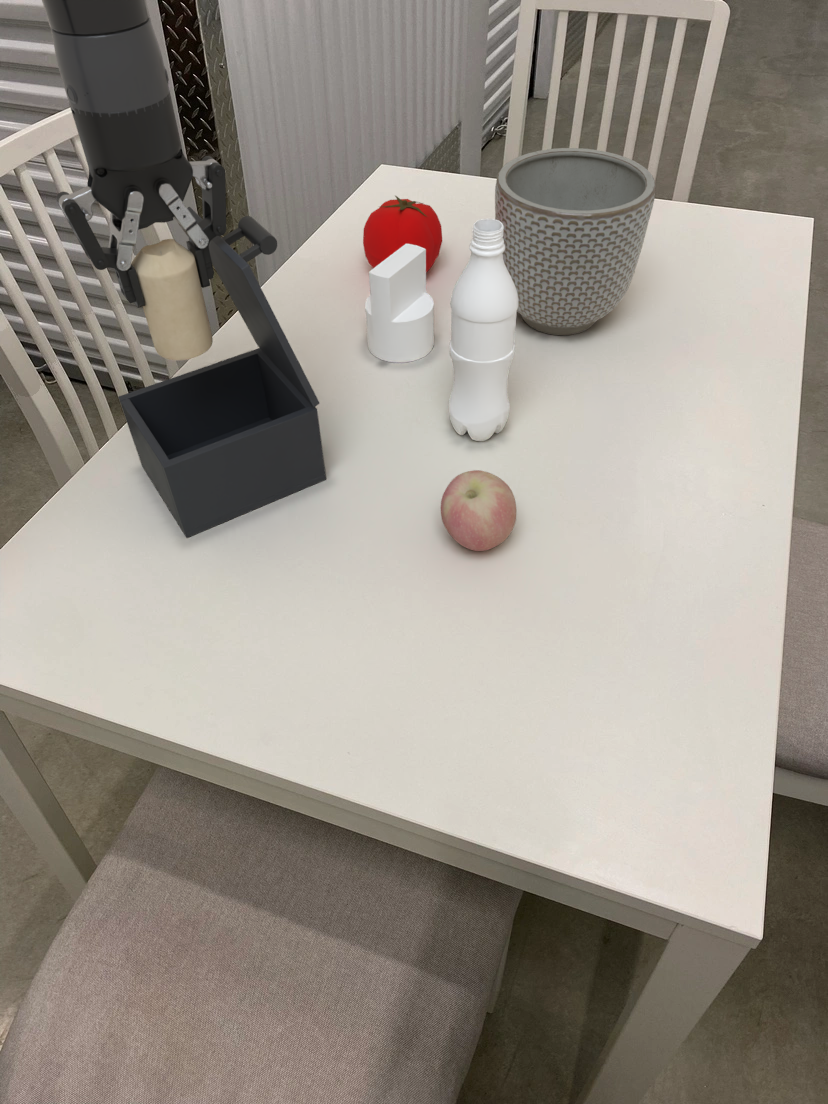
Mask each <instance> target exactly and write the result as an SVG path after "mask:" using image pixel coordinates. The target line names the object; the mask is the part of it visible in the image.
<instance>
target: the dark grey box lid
mask: <svg viewBox="0 0 828 1104" xmlns="http://www.w3.org/2000/svg"><path fill="white" fill-rule="evenodd" d="M187 209H188V210H189V211H190V213H191V214H192V216H193V217H194V218H195V220H196V221H197V223H198V222H200V221H201V220H203V217H201V216H200V215H199V214H198V213H197V212H196V211H195V210H194V209H193V208H192V207H191V206H188V207H187ZM243 237H245V239H247V240H248V241H249V242H250V243H251V244H252V246H251V247H249V248H247V249H246V250H244V251H243V252H241V253H238V252H236V250H234V248H233V247H232V246H231V245H233V244H234V243H236V242H237V241H239V240H240V239H242V238H243ZM277 249H278V240H277V238H276V237H275V236H274V235H272V234H271V232H269V231H268V230H267V229H266V228H265V227H263V225H261V224H260V223H259V222H258V221H257V220H256V219H254V217H252V216H250V215H244V216H242V217H241V218H240V219H239V221H238V223H237V227H236V228H235V229H233V230H232V231H230V232H228V233H227V234H226V235H223V236H216V237H214V238H213V239H212V240H211V241H210V243H209V252H210V256H211V261H212V266H213V269H214V270H215V271H216V273H217V275H218V276H219V278H220V281H221V282H222V284H223V286H224V288H225V290H226V291H227V294H228V295H229V297H230V299H231V301H232V302H233V304H234V306H235V307H236V310H237V311H238V313H239V315H240V317H241V319H242V320H243V322H244V324H245V325H246V327H247V329H248V331H249V333H250V335H251V336H252V338H253V340H254V342H255V344H256V345H257V347H258V348H260V349H261V350H262V351H263V352H264V353H265V354H266V355H267V356H268V358H269V359H270V360H271V361H272V362H273V363H274V364H275V365H276V366H277V367H278V369H279V370H280V371H281V372H282V373H283V374H284V375H285V376H286V377H287V379H288V380H289V381H290V382H291V383H292V384H293V385H294V386H295V387H296V388H297V390H298V391H299V392H300V393H301V394H302V395H303V396H304V397H305V398H306V399H307V401H308V402H309V403H310V404H311V405H312V406H313V407H316V406H319V404H320V400H319V399H318V397H317V394H316V393H315V391H314V389H313V387H312V385H311V383H310V381H309V379H308V378H307V377H308V376H307V375H306V373H305V372H304V369H303V367H302V365H301V364H300V361H299V360H298V358H297V356H296V353H295V352H294V350H293V348H292V346H291V343H290V342H289V340H288V338H287V336H286V333H285V332H284V330H283V329H282V326H281V325H280V323H279V320H278V318H277V316H276V315H275V313H274V311H273V309H272V306H271V305H270V303H269V300H268V298H267V297H266V295H265V293H264V291H263V289H262V287H261V285H260V284H259V282H258V279H257V278H256V276H255V274H254V271H253V270H252V267H251V266H250V264H249V263H248V262H250V261H251V260H253V259H254V258H256V257H257V256H259V255H260V254H263V255H265V256H269V255H273V254H274V253H275V252H276V251H277Z"/></svg>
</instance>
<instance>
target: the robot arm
mask: <svg viewBox="0 0 828 1104" xmlns="http://www.w3.org/2000/svg"><path fill="white" fill-rule="evenodd" d="M41 3H42V6H43V8H44V13H45V16H46V19H47V22H48V25H49V27H50V33H51V37H52V43H53V47H54V52H55V59H56V64H57V67H58V71H59V74H60V77H61V81H62V84H63V87H64V91H65V94H66V98H67V101H68V104H69V107H70V112H71V114H72V118H73V120H74V124H75V127H76V131H77V134H78V137H79V141H80V144H81V147H82V151H83V154H84V157H85V161H86V164H87V168H88V178H87V182H86V186H85V187H83V188H81V189H78V190H76V191H74V192H71V193H69V192H67V191H60V192H58V194H57V195H56V198H55V199H56V202H57V204H58V206H59V208H60V210H61V212H62V213H63V216H64V217H65V219H66V221H67V223H68V225H69V226H70V228H71V231H72V232H73V234H74V235H75V237H76V240H77V241H78V243H79V244H80V246H81V249H82V251H83V252H84V254H85V255H86V257H87V258H88V259H89V260H90V261H91V263H92V265H93V266H94V268H95V269H96V270H98V271H104V270H106V269H114V272H115V276H116V280H117V283H118V286H119V289H120V293H121V294H122V295H123V297H125V299H126V300H127V302H128V303H129V304H134V306H135V307H136V308H137V309H140V308H143V306H145V301H144V298H143V294H142V291H141V287H140V284H139V280H138V277H137V273H136V270H135V268H134V267H133V265H132V261H133V252H134V248H135V247H134V246H136V245H137V242H138V241H137V240H138V232H139V230H143V229H146V228H149V227H150V226H152V225H154V224H157V223H161V224H162V223H163V224H164V223H168V222H172V221H174V220H175V222H176V223H177V224H178V226H179V227H180V228H181V229H182V231H183V232H184V234H185V235H186V236H187V237H188V240H187V241H185V243H186V247H187V250H189V251H190V252H192V253H193V255H194V257H195V262H196V266H197V270H198V275H199V279H200V284H201V288H202V289H204V288H208V287H211V281H210V280H212V279H214V276H215V271H214V270H215V269H214V266H213V264H212V261H211V256H210V252H209V243H210V241H211V240H212V239H213V238H214V237H216V236H220V237H223V236H225V234H226V232H227V195H226V194H227V191H226V190H227V189H226V187H227V185H226V169H225V168H224V166H223V165H221V164H220V163H219V162H218V161H217V160H215V159H214V158H213V156H211V155H205V156H204V157H202V159H201V160H195V161H194V160H193V161H189V160H188V159H187V157H186V156H185V154H184V152H183V146H182V142H181V137H180V133H179V132H180V131H179V127H178V123H177V118H176V114H175V109H174V105H173V100H172V96H171V90H170V86H169V81H170V80H169V74H168V70H167V68H166V66H165V63H164V59H163V55H162V50H161V47H160V44H159V41H158V39H157V36H156V33H155V30H154V27H153V22H152V19H151V17H150V11H149V7H148V2H147V0H41ZM193 177H194V179H195V182H196V184H197V185H198V186H199V187H200V188H201V201H202V219H203V220H201V221H200V222H198V223H197V221H196V220H195V218H194V217H193V216H192V214H191V213H190V211H189V210H188V209H187V208H188V207H187V206H186V204H185V203H184V200H185V198H186V195H187V192H188V190H189V187H190V185H191V183H192V180H193ZM95 202H97V203H98V204H100V205H101V206H102V207H103V208H104V209H105V210H107V211H108V212H109V213H110V214H109V223H108V229H109V240H108V247H104V246H101V244H100V242H99V240H98V239H97V236H96V235H95V233H94V231H93V229H92V228H91V226H90V224H89V221H91V220H92V218H93V217H94V211H93V208H92V207H93V205H94V203H95Z"/></svg>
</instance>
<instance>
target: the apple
mask: <svg viewBox="0 0 828 1104" xmlns="http://www.w3.org/2000/svg"><path fill="white" fill-rule="evenodd" d="M440 516H441V521H442V524H443V526H444V528H445V529H446V531H447V532H448V534H449V535H450V536H451V537H452V539H453V540H454V541H456V542H457V543H458V544H459V545H460V546H462V547H463V548H465V549H467V550H471V551H475V552H485V551H489V550H491V549H493V548H495V547H497V546H499V545H501V544H502V543H504V542H505V541H506V540H507V539H508V537H509V536H510V535H511V534H512V532H513V529H514V527H515V525H516V521H517V502H516V498H515V495H514V493H513V491H512V489H511V487H510V485H508V484H507V483H506V482H505V481H504V480H503V479H502V478H501V477H499V476H497V475H495V474H493V473H490V472H488V471H485V470H484V471H483V470H476V469H473V470H467V471H464V472H462V473H460V474H458V475H456V476H455V477H454V478H452V479H451V481H450V482H449V484H447V486H446V488H445V490H444V492H443V493H442V496H441V501H440Z"/></svg>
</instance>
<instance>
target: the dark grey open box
mask: <svg viewBox="0 0 828 1104" xmlns="http://www.w3.org/2000/svg"><path fill="white" fill-rule="evenodd" d="M117 398H118V401H119V403H120V406H121V409H122V413H123V415H124V418H125V421H126V424H127V427H128V429H129V432H130V435H131V438H132V441H133V445H134V447H135V449H136V452H137V455H138V458H139V461H140V464H141V467H142V468H143V470H144V472H145V473H146V475H147V476H148V478H149V480H150V481H151V483H152V485H153V486H154V489H156V491H157V492H158V495H159V496H160V497H161V500H162V501H163V502H164V504H165V505H166V507H167V509H168V510H169V512H170V514H171V516H172V517H173V519H174V520H175V522H176V523H177V525H178V527H179V528H180V530H181V531H182V534H183V535H184V537H185V538H186V539H188V538H190V537H192V536H196V535H198V534H201V533H203V532H205V531H207V530H210V529H212V528H214V527H217V526H219V525H221V524H224V523H226V522H228V521H231V520H234V519H235V518H238V517H241V516H243V515H245V514H247V513H250V512H253V511H255V510H257V509H259V508H263V507H265V506H267V505H269V504H272V503H273V502H276V501H278V500H281V499H283V498H286V497H288V496H290V495H293V494H295V493H298V492H300V491H303V490H305V489H308V488H309V487H312V486H315V485H317V484H319V483H321V482H324V481H326V480H327V475H326V474H327V473H326V467H325V460H324V459H325V458H324V451H323V443H322V436H321V427H320V421H319V413H318V408H317V407H316V406H315V407H313V406H312V405H311V404H310V403H309V402H308V401H307V399H306V398H305V397H304V396H303V395H302V394H301V393H300V392H299V391H298V390H297V388H296V387H295V386H294V385H293V384H292V383H291V382H290V381H289V380H288V379H287V377H286V376H285V375H284V374H283V373H282V372H281V371H280V370H279V369H278V367H277V366H276V365H275V364H274V363H273V362H272V361H271V360H270V359H269V358H268V356H267V355H266V354H265V353H264V352H263V351H262V350H261V349H260V348H259V347H258V348H255V349H252V350H249V351H246V352H244V353H241V354H238V355H235V356H232V357H229V358H226V359H223V360H220V361H217V362H214V363H212V364H210V365H209V364H208V365H207V366H203V367H200V368H197V369H194V370H191V371H188V372H186V373H183V374H180V375H177V376H174V377H171V378H168V379H166V380H165V379H164V380H162V381H160V382H156V383H153V384H151V385H148V386H144V387H142V388H139V389H136V390H134V391H129V392H127V393H125V394H122V395H119V396H117Z"/></svg>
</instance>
